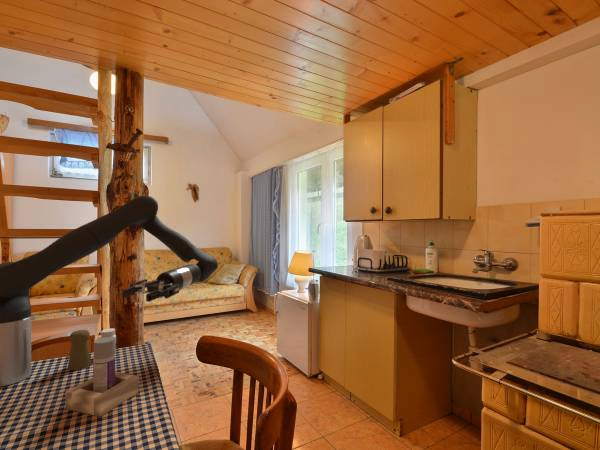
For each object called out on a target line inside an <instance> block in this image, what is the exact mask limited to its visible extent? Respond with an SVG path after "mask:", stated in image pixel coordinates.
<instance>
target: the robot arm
mask: <svg viewBox="0 0 600 450" xmlns="http://www.w3.org/2000/svg"><path fill="white" fill-rule="evenodd" d="M158 211H159V203H158V201H157V200H156V198H155V197H152V196H150V195H139V196H136V197H135V198H133V199H130V201H128V202H126V203H124V204H123V205H121V206H120V207H118V208H116V209H115V210H113V211H111V212H108V213H106V214H105V215H102V216H100V217H97V218H96V219H94V220H92V221H90V222H87V223H85V224H82V225H81V226H78V227H76V228H74V229H72V230H70V231H68V232H67V233H66V234H64V235H62V236H61V237H59V238H57V239H56V240H55V241H53V242H52V243H51V244H49V245H48V246H46V247H45V248H43V249H42V250H39V251H38V252H36V253H34V254H31V255H28V256H27V257H24V258H23V259H19V260H16V261H6V262H1V263H0V387H5V386H10V385H13V384H16V383H19V382H21V381H24V380H25V379H27V378H29V377H30V376H31V375H32V304H31V300H30V289H31V288H33V287H34V286H36V285H37V284H39V283H40V282H42V281H43V280H45V279H47V277H50V276H51V275H52V274H54V273H55V272H57V271H59V270H61V269H63V268H65V267H68V266H69V265H72V264H73V263H76V262H77V261H79V260H82V259H83V258H85V257H87V256H90V255H92V254H93V253H95V252H97V251H98V250H100V249H103V248H104V247H105V246H107V245H108V244H109V243H111V242H112V241H113V240H114V239H115V238H116V237H117V236H119V235H120V234H121V233H122V232H123V231H124V230H125V229H127V228H129V227H130V226H132V225H136V226H138V227H140V228H141V229H143V230H144V231H146V232H147V233H149V234H150V235H151V236H153V237H154V238H156V239H157V240H158V241H160V242H161V243H162V244H163V245H164V246H166V247H167V248H168V249H169V250H171V252H172V253H174V254H175V255H176V256H177V257H178V258H179V259H180V260H181V261H183V263H189V262H191V261H192V260H195V261H197V263H196V264H193V263H190V264H186V265H183V266H179V267H176V268H173V269H169V270H167V271H164V272H161V273H159V275H158V276H157V278H156V279H152V280H151V281H150V280H149V281H148V278H147V279H146V278H145V279H142V280H139V281H136V282H132V283H130V284H129V287H128V288H126V289H123V290H122V297H123V298H128V297H131V296H133V295H136V294H142V295H145V294H146V295H145V301H146V302H149V303H150V302H152V301H155V300H156V299H163V297H164V299H169V298H172V297H174V296H175V295H177V294H179V293H180V291H181V290H182V291H183V290H184V289H185V288H187V287H188V286H191V285H194V284H197V283H198V284H199V283H203V282H205V281H207V280H208V278H210V277H211V276H212V274H213V273H215V271H216V270H217V269H218V267H219V263H218V260H217V258H215V257H214V256H213V255H212V254H209V253H207V252H205V251H203V250H202V249H200V248H198V247H196V245H194V243H192V242H191V241H190V240H189V239H188V238H187V237H185V236H184V235H182V234H181V233H180V232H178V231H175V230H173V229H171V228H169V227H168V226H167V225H166V224H165V223H163V221H162V220H161V219H160V218H159V217H158V216H157V214H158Z"/></svg>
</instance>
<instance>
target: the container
mask: <svg viewBox="0 0 600 450" xmlns="http://www.w3.org/2000/svg"><path fill="white" fill-rule="evenodd" d="M92 362H93V364H92V366H93V368H92V369H93V371H92V372H93V374H92V375H93V376H92V378H93V392H98V393H103V392H105V391H107V390H108V389H110V388H112V387H114V386H115V372H116V354H115V338H114V337H103V338H100V337H99V338H97V339H95V340H94V341H93V361H92Z"/></svg>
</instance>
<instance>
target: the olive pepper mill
mask: <svg viewBox="0 0 600 450" xmlns="http://www.w3.org/2000/svg"><path fill="white" fill-rule="evenodd" d="M90 336H91V335H90V331H89V330H87V329H78V330H75V331H72V332H71V333H70V334H69V342H70V343H71V345H70V352H69V358H68V363H67V371H70V370H75V371H80V369H81V370H84V369H86V367H87V368H88V366H89V367H90V366H91V365H92V359H91V354H90V346H89V340H90ZM83 368H84V369H83Z"/></svg>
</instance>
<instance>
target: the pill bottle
mask: <svg viewBox="0 0 600 450" xmlns="http://www.w3.org/2000/svg"><path fill="white" fill-rule="evenodd" d="M103 337H114V338H115V355H116V353H117V335H116V329H115V328H113V327H111V328H106V329H105V328H104V329H103V330H101V332H100V337H99V338H103Z"/></svg>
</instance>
